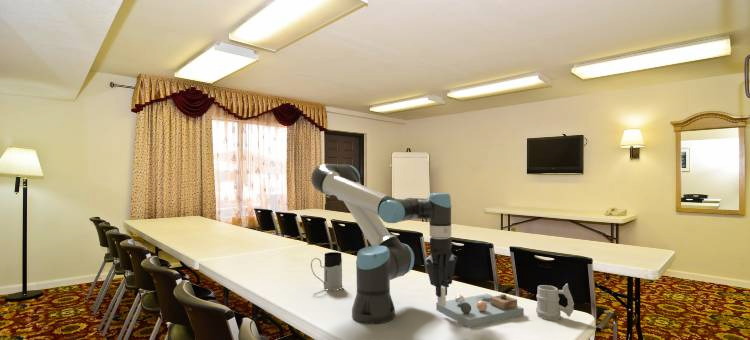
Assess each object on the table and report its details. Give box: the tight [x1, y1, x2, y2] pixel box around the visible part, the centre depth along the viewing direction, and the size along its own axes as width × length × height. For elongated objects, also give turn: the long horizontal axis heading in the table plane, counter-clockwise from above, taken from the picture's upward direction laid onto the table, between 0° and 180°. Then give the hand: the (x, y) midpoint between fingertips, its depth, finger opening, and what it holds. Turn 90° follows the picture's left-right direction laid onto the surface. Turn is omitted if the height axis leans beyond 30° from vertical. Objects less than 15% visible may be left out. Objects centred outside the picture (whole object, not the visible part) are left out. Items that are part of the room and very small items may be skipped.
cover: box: [490, 293, 518, 310], centre depth 129 cm, size 6×6×4 cm
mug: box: [535, 283, 575, 321], centre depth 125 cm, size 8×12×12 cm, turn 60°
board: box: [435, 293, 525, 329], centre depth 130 cm, size 24×18×2 cm
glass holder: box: [310, 251, 344, 291], centre depth 160 cm, size 9×14×15 cm, turn 112°
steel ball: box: [454, 294, 465, 306], centre depth 130 cm, size 4×4×4 cm
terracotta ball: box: [477, 301, 487, 312], centre depth 124 cm, size 4×4×4 cm
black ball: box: [461, 302, 471, 314], centre depth 123 cm, size 4×4×4 cm
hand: (441, 305), depth 127 cm, fingers closed
